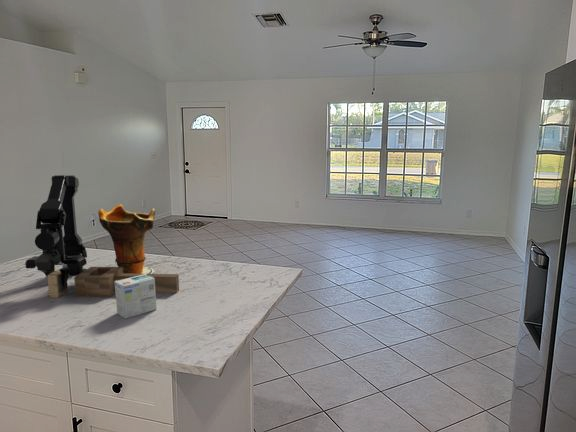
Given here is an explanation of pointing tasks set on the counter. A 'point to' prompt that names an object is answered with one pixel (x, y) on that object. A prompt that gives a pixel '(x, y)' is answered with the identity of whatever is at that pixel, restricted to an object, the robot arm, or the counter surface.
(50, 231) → the robot arm
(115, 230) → the decorative vase
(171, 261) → the counter surface
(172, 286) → the wooden block stand
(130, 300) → the light bulb box
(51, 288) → the tan cardboard block
